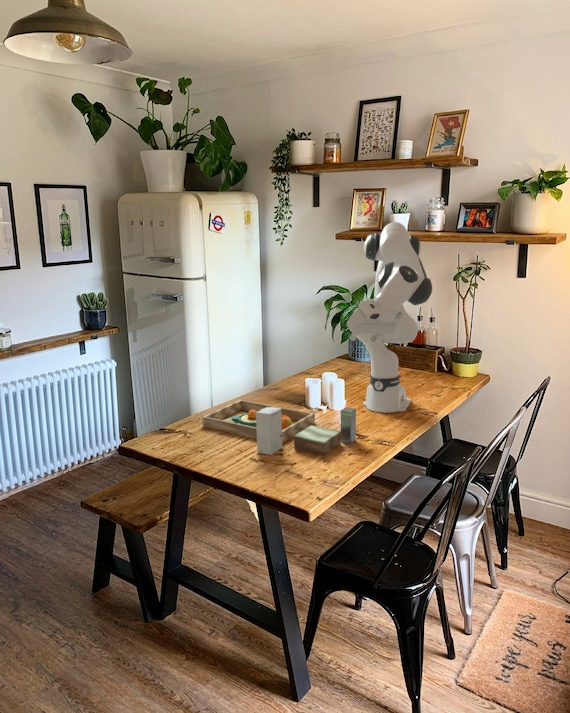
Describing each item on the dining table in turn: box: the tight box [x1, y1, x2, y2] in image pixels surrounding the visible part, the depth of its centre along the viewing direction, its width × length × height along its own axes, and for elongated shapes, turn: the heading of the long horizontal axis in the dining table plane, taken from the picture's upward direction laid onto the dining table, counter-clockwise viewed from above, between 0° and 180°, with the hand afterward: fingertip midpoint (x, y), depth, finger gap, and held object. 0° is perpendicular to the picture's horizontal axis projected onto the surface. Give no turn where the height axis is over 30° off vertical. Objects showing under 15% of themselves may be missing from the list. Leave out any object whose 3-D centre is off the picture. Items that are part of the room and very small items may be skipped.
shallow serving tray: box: [201, 399, 316, 443], centre depth 239 cm, size 25×36×4 cm
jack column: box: [339, 406, 357, 445], centre depth 219 cm, size 4×4×12 cm
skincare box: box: [256, 407, 283, 456], centre depth 212 cm, size 8×6×15 cm
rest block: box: [293, 424, 342, 457], centre depth 216 cm, size 12×12×5 cm
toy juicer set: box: [223, 410, 293, 430], centre depth 238 cm, size 29×18×8 cm, turn 59°
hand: (362, 340), depth 211 cm, fingers open, 8 cm apart
